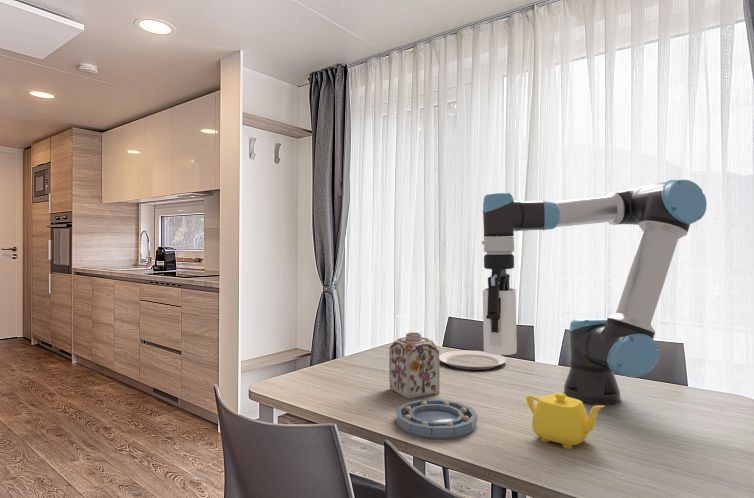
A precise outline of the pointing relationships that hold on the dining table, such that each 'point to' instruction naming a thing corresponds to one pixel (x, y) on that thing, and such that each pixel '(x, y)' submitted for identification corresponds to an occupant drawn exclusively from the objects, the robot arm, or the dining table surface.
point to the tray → (436, 419)
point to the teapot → (561, 419)
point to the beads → (464, 410)
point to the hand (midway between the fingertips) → (500, 341)
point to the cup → (502, 324)
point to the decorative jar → (414, 366)
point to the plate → (482, 354)
